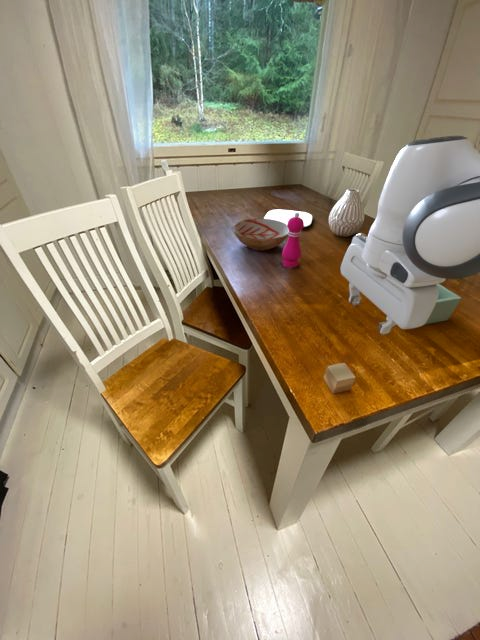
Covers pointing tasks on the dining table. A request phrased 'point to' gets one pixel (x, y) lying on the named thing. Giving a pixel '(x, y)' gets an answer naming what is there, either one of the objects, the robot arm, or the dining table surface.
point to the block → (339, 378)
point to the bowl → (261, 233)
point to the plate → (288, 216)
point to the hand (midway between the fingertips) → (367, 316)
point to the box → (443, 305)
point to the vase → (347, 214)
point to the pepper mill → (293, 242)
